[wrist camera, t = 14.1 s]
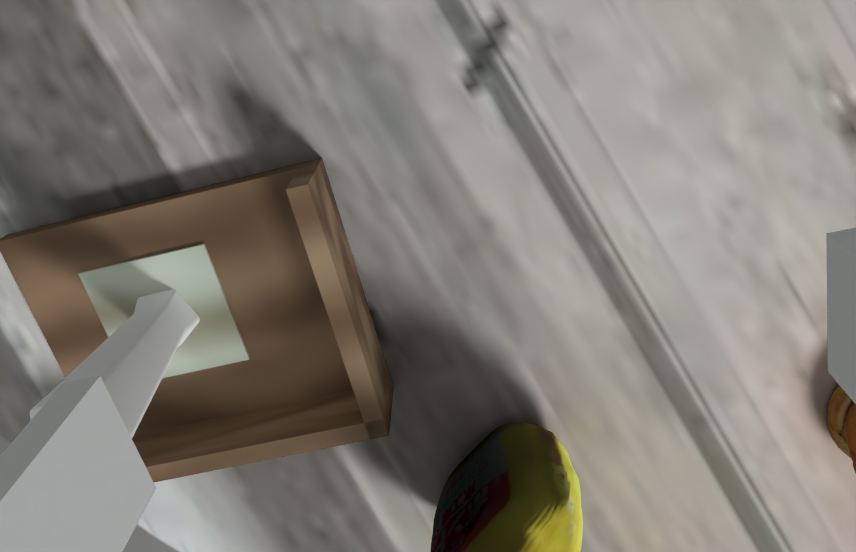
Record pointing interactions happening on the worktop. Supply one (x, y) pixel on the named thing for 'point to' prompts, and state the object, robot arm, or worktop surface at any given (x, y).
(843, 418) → the burger
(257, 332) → the brown wooden flat tray
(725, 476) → the worktop surface
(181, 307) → the white faceted vase
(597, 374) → the worktop surface
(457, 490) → the bottle
